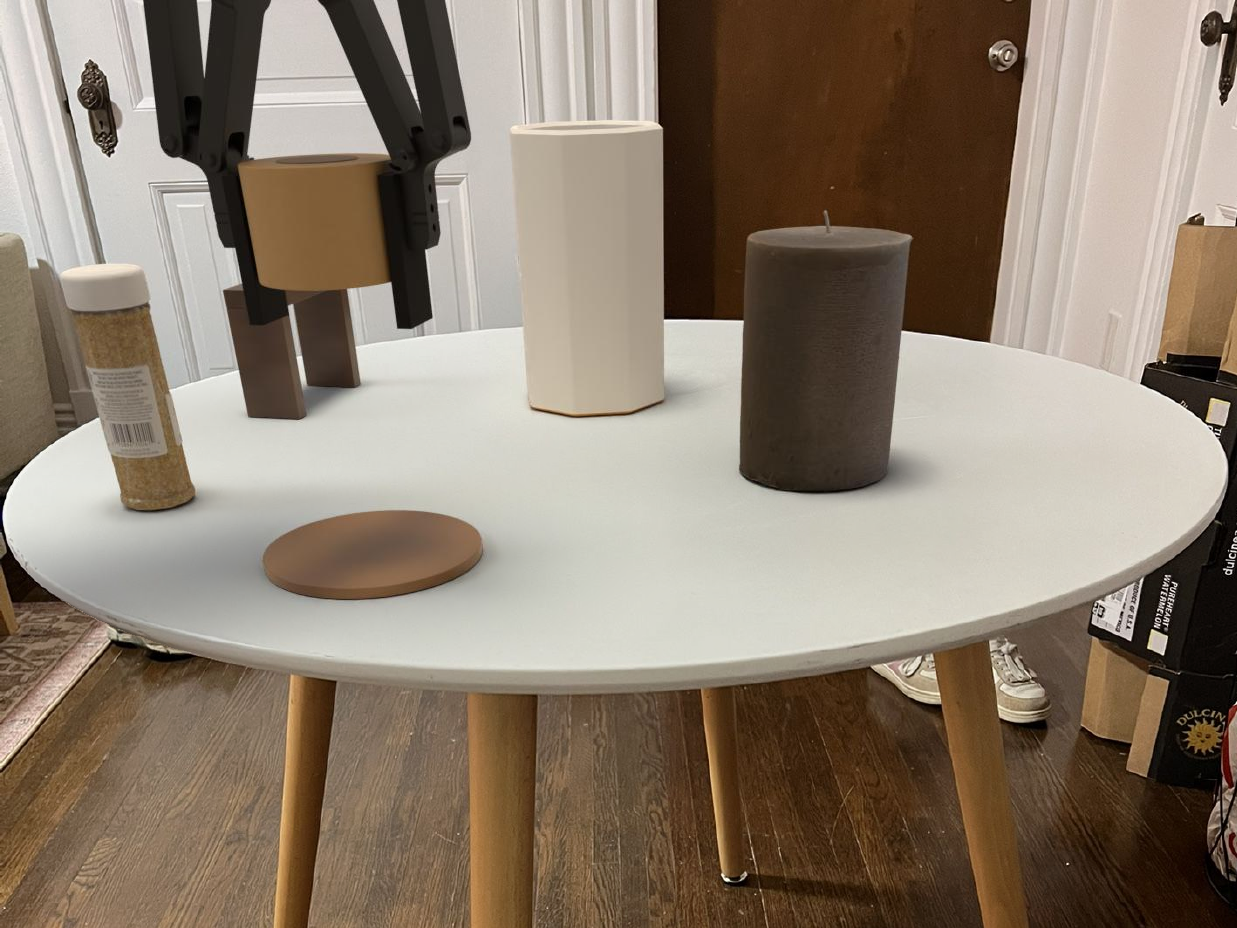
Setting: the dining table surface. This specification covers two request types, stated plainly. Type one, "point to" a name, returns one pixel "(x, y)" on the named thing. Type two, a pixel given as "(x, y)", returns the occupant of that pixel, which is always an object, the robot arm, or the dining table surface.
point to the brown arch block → (292, 350)
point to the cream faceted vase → (591, 263)
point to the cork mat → (372, 554)
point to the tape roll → (317, 220)
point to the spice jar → (129, 383)
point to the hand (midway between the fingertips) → (341, 320)
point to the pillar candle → (820, 355)
